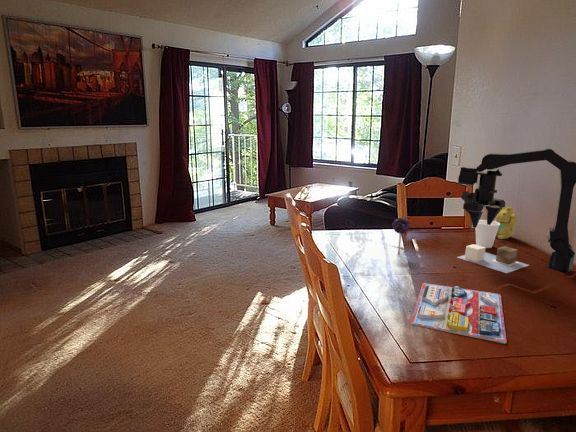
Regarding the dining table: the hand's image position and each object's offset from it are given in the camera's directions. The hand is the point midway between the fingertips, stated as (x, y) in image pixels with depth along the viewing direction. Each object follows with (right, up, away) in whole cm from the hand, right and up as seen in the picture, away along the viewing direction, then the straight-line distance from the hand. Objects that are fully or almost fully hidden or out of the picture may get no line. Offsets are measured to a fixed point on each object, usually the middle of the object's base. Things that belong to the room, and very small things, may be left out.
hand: (481, 226), depth 161 cm
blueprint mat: (+3, -14, -3) cm, 14 cm away
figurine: (+25, -6, +32) cm, 41 cm away
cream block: (-4, -13, -1) cm, 13 cm away
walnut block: (+8, -13, -3) cm, 16 cm away
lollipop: (-31, -11, +5) cm, 34 cm away
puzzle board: (-27, -24, -43) cm, 56 cm away
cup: (+9, -10, +16) cm, 21 cm away
